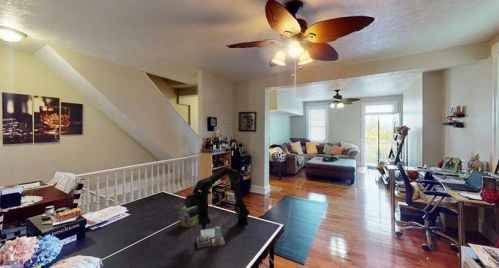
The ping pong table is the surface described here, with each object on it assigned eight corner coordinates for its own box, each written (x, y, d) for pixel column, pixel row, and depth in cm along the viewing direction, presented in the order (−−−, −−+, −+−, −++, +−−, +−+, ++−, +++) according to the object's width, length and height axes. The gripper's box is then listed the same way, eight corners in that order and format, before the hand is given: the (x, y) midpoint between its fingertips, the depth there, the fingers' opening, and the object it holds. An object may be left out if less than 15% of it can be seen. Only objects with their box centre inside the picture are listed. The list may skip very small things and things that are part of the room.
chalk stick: (220, 239, 121) (220, 226, 121) (221, 242, 118) (221, 228, 117) (214, 240, 120) (214, 227, 120) (215, 243, 117) (215, 230, 116)
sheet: (219, 228, 135) (219, 227, 134) (221, 236, 125) (221, 235, 125) (200, 231, 131) (200, 230, 131) (201, 239, 121) (201, 238, 121)
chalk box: (189, 228, 135) (189, 206, 134) (179, 225, 138) (178, 204, 138) (198, 222, 143) (198, 201, 142) (188, 219, 147) (187, 199, 146)
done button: (206, 239, 120) (206, 234, 120) (207, 242, 116) (207, 237, 116) (199, 240, 118) (199, 235, 118) (200, 244, 115) (200, 238, 115)
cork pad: (223, 237, 123) (223, 237, 123) (225, 244, 117) (225, 243, 117) (211, 239, 121) (211, 239, 121) (213, 246, 114) (213, 245, 114)
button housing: (208, 239, 122) (208, 235, 122) (210, 245, 115) (210, 241, 115) (196, 241, 119) (196, 237, 119) (197, 248, 113) (197, 243, 113)
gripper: (188, 198, 123) (188, 223, 123) (188, 211, 105) (189, 240, 106) (206, 196, 126) (207, 221, 127) (210, 208, 108) (210, 236, 109)
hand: (203, 229), depth 117 cm, fingers closed
